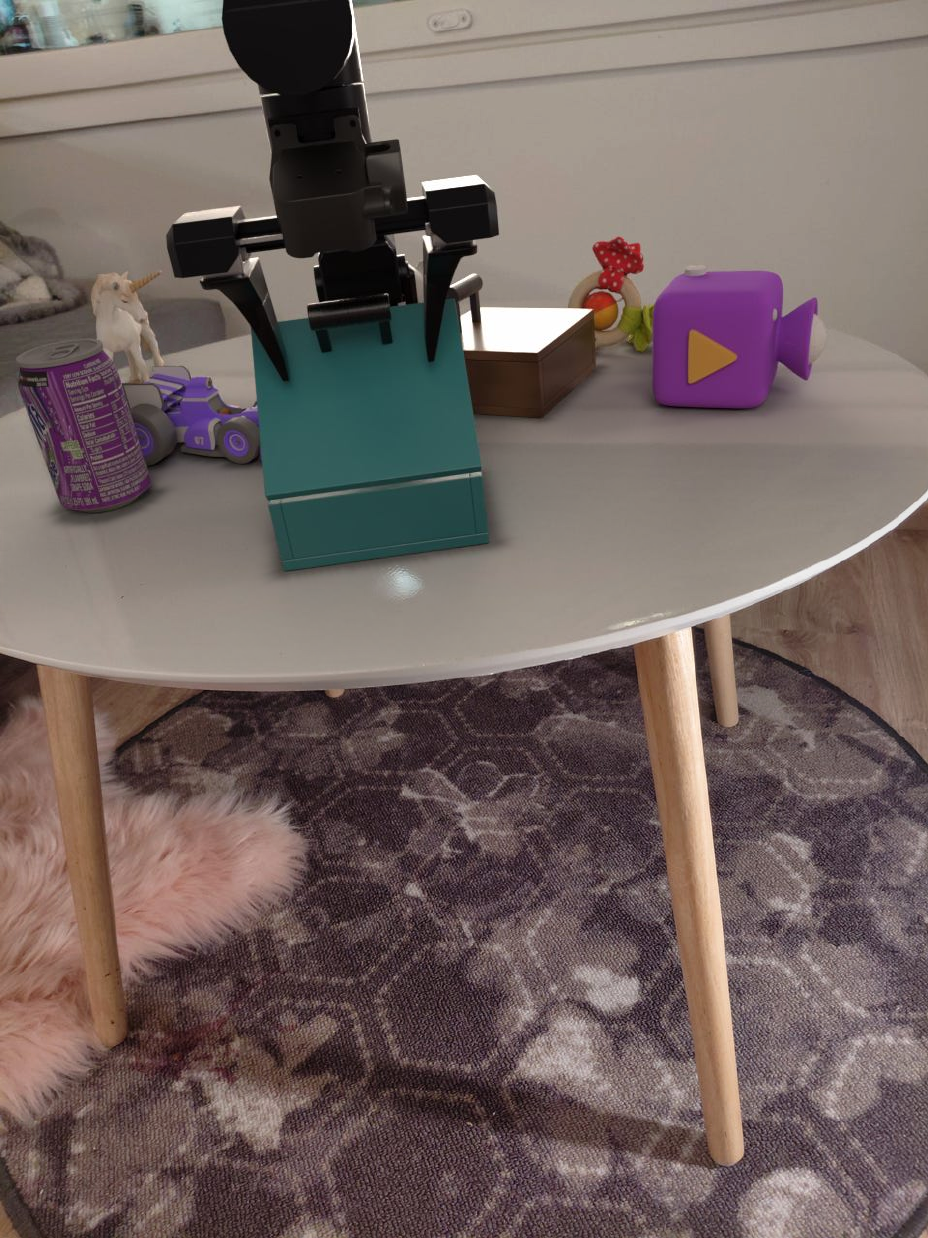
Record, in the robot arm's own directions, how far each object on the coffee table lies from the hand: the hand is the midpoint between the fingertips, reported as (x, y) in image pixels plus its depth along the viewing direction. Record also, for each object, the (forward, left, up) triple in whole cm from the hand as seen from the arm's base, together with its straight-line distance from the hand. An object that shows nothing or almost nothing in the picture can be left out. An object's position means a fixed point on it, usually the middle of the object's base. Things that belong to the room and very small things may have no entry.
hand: (359, 370), depth 60 cm
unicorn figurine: (-45, +11, -11) cm, 48 cm away
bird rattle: (-9, +41, -11) cm, 43 cm away
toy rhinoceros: (-35, +37, -11) cm, 52 cm away
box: (-11, +27, -11) cm, 31 cm away
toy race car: (-25, +4, -11) cm, 28 cm away
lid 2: (-11, +27, -6) cm, 30 cm away
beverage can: (-24, -8, -11) cm, 28 cm away
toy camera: (+8, +34, -11) cm, 37 cm away
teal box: (-1, +1, -11) cm, 11 cm away
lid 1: (0, 0, -2) cm, 2 cm away
